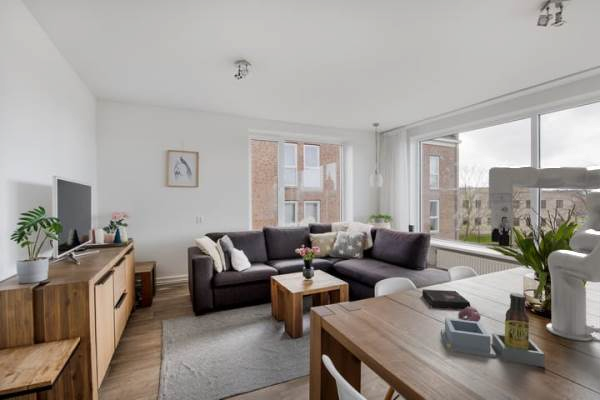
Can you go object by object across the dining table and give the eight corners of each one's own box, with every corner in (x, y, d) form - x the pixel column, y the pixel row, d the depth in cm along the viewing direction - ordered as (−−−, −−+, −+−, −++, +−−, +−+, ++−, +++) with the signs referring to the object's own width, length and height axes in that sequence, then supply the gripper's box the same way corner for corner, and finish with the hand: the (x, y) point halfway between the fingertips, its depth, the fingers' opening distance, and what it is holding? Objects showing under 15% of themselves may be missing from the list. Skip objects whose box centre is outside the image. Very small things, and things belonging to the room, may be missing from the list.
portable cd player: (471, 311, 128) (471, 302, 128) (432, 308, 131) (432, 300, 131) (456, 298, 144) (456, 291, 144) (422, 296, 147) (422, 289, 147)
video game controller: (476, 330, 111) (484, 315, 110) (465, 324, 112) (473, 310, 111) (466, 320, 121) (474, 306, 120) (456, 315, 121) (464, 301, 121)
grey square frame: (528, 349, 94) (528, 337, 94) (544, 367, 84) (544, 353, 84) (492, 344, 97) (492, 333, 97) (503, 360, 87) (503, 348, 87)
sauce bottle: (507, 357, 89) (506, 296, 89) (502, 348, 95) (501, 290, 95) (532, 362, 86) (531, 299, 87) (525, 352, 92) (525, 292, 92)
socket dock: (482, 337, 102) (482, 321, 102) (496, 357, 89) (495, 339, 89) (441, 331, 107) (440, 316, 107) (447, 350, 94) (447, 332, 94)
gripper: (520, 198, 95) (520, 247, 95) (505, 199, 112) (504, 241, 111) (495, 198, 98) (494, 246, 98) (483, 199, 114) (482, 240, 114)
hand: (500, 243), depth 105 cm, fingers open, 9 cm apart
